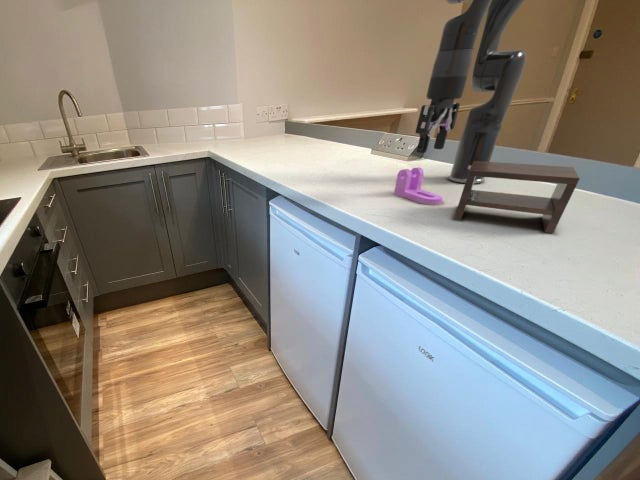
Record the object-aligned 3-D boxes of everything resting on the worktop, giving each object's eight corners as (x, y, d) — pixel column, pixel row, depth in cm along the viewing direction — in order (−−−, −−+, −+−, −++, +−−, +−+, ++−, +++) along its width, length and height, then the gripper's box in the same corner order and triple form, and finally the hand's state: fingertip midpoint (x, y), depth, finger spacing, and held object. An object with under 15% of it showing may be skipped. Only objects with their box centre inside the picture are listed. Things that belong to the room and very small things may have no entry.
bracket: (393, 193, 98) (398, 168, 94) (409, 191, 99) (414, 166, 95) (429, 205, 87) (436, 178, 84) (446, 203, 89) (454, 175, 85)
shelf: (459, 206, 86) (474, 160, 80) (549, 218, 77) (573, 167, 71) (453, 219, 78) (469, 169, 72) (553, 233, 69) (580, 178, 64)
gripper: (451, 74, 72) (430, 155, 81) (480, 74, 79) (458, 149, 88) (417, 75, 77) (400, 152, 86) (447, 75, 84) (429, 146, 93)
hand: (429, 150), depth 87 cm, fingers open, 8 cm apart
